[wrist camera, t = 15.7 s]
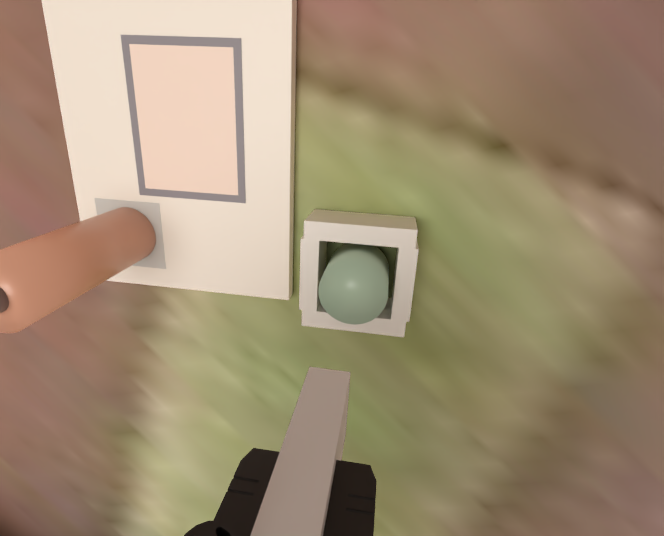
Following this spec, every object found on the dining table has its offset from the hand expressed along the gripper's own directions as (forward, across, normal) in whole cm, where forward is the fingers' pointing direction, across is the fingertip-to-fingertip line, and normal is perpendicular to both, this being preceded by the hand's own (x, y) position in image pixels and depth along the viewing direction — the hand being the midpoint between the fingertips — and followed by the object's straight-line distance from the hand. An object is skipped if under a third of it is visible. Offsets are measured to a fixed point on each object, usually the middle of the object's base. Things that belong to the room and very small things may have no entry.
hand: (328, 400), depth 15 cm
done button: (+14, 0, 0) cm, 14 cm away
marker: (+14, -17, +1) cm, 22 cm away
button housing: (+16, 0, 0) cm, 16 cm away
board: (+16, -13, +7) cm, 21 cm away
